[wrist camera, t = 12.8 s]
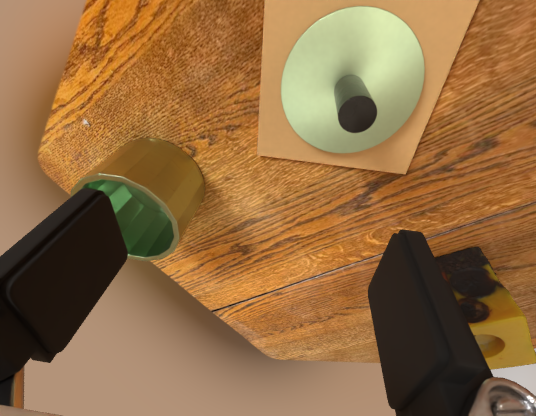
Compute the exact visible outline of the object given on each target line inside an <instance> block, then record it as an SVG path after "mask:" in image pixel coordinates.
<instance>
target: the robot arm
mask: <svg viewBox="0 0 536 416" xmlns="http://www.w3.org/2000/svg"><path fill="white" fill-rule="evenodd" d="M127 256H128V251H127V248H126V245H125V242H124V239H123V236H122V233H121V230H120V227H119V224H118V221H117V218H116V215H115V212H114V209H113V206H112V203H111V200H110V198H109V197H108V196H106V194H105V193H104V192H103V191H101V190H94V189H87V188H83V189H81V190H79V191H78V192H77V193H76V194H74V195H73V196H72V197H71V198H70V199H68V200H67V201H66V202H65V203H64V204H62V205H61V206H60V207H59V208H58V209H57V210H56V211H54V212H53V213H52V214H50V215H49V216H48V217H47V218H46V219H44V220H43V221H42V222H41V223H40V224H39V225H37V226H36V227H35V228H34V229H33V230H32V231H30V232H29V233H28V234H27V235H25V236H24V237H23V238H22V239H21V240H19V241H18V242H17V243H16V244H15V245H13V246H12V247H11V248H10V249H9V250H8V251H6V252H5V253H4V254H3V255H1V256H0V416H61V415H55V414H49V413H44V412H38V411H32V410H27V409H24V365H25V364H26V363H27V361H28V360H29V359H30V358H31V359H32V360H37V361H42V362H48V363H50V362H51V361H52V360H53V358H54V357H55V355H56V354H57V353H59V352H61V351H62V350H64V348H65V347H66V346H67V344H68V343H69V342H70V340H71V339H72V337H73V336H74V334H75V333H76V332H77V330H78V329H79V327H80V326H81V324H82V323H83V322H84V320H85V319H86V317H87V316H88V314H89V313H90V312H91V310H92V309H93V307H94V306H95V304H96V303H97V302H98V300H99V299H100V297H101V296H102V294H103V293H104V291H105V290H106V289H107V287H108V286H109V284H110V283H111V282H112V280H113V279H114V277H115V276H116V274H117V273H118V272H119V270H120V269H121V267H122V266H123V264H124V263H125V261H126V260H127ZM368 298H369V304H370V309H371V314H372V320H373V325H374V330H375V335H376V341H377V346H378V351H379V357H380V362H381V367H382V373H383V378H384V383H385V388H386V393H387V399H388V403H389V406H390V407H391V408H392V409H395V411H396V416H536V396H534V395H533V394H532V393H531V392H530V391H528V390H527V389H526V388H524V387H522V386H521V385H519V384H517V383H515V382H513V381H511V380H508V379H505V378H498V377H493V375H492V373H491V370H490V368H489V366H488V364H487V362H486V360H485V358H484V356H483V354H482V352H481V350H480V347H479V345H478V343H477V341H476V339H475V337H474V335H473V333H472V331H471V329H470V326H469V324H468V322H467V320H466V318H465V316H464V314H463V312H462V310H461V308H460V306H459V303H458V301H457V299H456V297H455V295H454V293H453V291H452V289H451V287H450V285H449V283H448V282H447V280H446V279H444V278H443V275H442V273H441V271H440V269H439V267H438V265H437V263H436V261H435V258H434V256H433V254H432V252H431V250H430V248H429V246H428V243H427V241H426V239H425V237H424V235H423V234H422V233H421V232H417V231H409V230H400V231H399V233H398V234H397V233H394V234H393V235H392V237H391V239H390V241H389V243H388V245H387V248H386V250H385V252H384V254H383V256H382V259H381V261H380V263H379V265H378V267H377V269H376V272H375V274H374V276H373V278H372V280H371V283H370V285H369V288H368Z"/></svg>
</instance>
